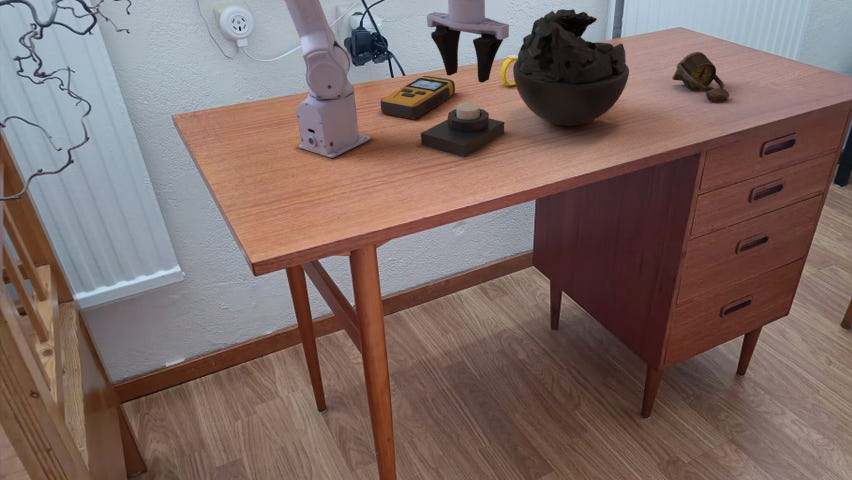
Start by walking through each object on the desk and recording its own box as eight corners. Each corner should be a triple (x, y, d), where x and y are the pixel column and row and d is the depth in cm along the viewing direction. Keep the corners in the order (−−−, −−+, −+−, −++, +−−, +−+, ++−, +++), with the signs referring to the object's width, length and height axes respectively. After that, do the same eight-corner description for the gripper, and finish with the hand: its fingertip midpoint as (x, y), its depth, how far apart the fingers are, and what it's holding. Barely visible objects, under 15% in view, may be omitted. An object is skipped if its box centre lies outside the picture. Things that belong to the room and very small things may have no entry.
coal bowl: (578, 96, 131) (586, -4, 120) (646, 129, 116) (661, 18, 106) (491, 114, 123) (492, 9, 112) (552, 152, 108) (559, 35, 98)
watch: (506, 89, 134) (506, 60, 131) (497, 86, 136) (497, 57, 133) (528, 83, 137) (529, 55, 134) (519, 80, 139) (520, 52, 136)
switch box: (464, 157, 107) (464, 134, 105) (421, 145, 111) (420, 122, 109) (504, 133, 115) (504, 111, 113) (462, 123, 119) (462, 101, 117)
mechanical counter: (724, 56, 135) (678, 45, 134) (744, 69, 124) (693, 57, 123) (711, 90, 139) (666, 79, 138) (729, 106, 127) (679, 94, 127)
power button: (471, 122, 110) (471, 112, 109) (451, 117, 112) (451, 108, 111) (484, 115, 113) (484, 105, 112) (465, 110, 115) (465, 101, 114)
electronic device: (378, 116, 123) (376, 98, 121) (421, 89, 135) (419, 73, 133) (416, 122, 120) (415, 104, 118) (457, 95, 132) (456, 78, 130)
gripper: (520, -10, 100) (517, 78, 108) (444, -20, 107) (446, 63, 115) (494, -2, 95) (494, 90, 103) (416, -13, 102) (421, 74, 110)
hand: (467, 77), depth 108 cm, fingers open, 6 cm apart
